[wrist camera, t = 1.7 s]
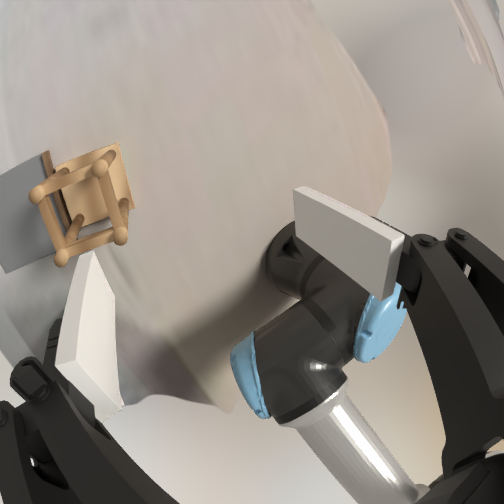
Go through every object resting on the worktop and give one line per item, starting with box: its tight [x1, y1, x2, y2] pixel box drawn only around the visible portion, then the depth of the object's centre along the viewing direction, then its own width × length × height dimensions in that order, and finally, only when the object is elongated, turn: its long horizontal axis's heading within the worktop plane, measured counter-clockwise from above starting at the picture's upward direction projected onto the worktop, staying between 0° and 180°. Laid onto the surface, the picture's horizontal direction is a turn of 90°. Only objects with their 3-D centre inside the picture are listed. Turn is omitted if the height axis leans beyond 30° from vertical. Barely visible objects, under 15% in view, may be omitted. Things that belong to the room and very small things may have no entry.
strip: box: [42, 150, 78, 240], centre depth 29 cm, size 1×14×1 cm, turn 8°
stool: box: [28, 142, 135, 267], centre depth 26 cm, size 9×9×14 cm
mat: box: [0, 154, 67, 273], centre depth 27 cm, size 14×14×1 cm
